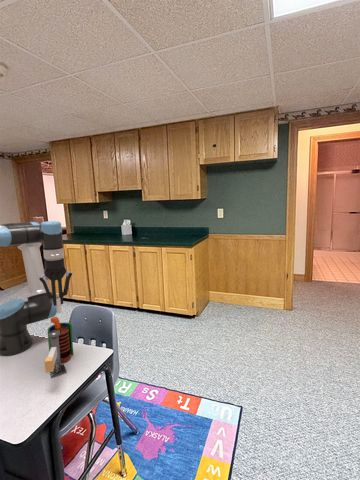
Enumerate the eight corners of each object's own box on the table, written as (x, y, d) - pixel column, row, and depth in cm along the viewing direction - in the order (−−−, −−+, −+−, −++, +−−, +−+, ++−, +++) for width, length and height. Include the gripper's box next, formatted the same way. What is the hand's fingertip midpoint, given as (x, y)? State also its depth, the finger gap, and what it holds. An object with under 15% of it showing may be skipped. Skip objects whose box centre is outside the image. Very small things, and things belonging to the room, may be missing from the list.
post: (48, 370, 113) (45, 331, 111) (63, 365, 117) (60, 327, 114) (51, 378, 109) (47, 337, 106) (66, 372, 112) (63, 333, 109)
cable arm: (58, 356, 109) (57, 345, 108) (53, 371, 99) (52, 360, 99) (51, 357, 109) (50, 346, 108) (45, 372, 99) (44, 361, 98)
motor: (62, 367, 116) (59, 324, 113) (45, 364, 118) (40, 322, 114) (76, 353, 126) (73, 314, 123) (59, 351, 127) (56, 313, 124)
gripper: (37, 262, 102) (43, 319, 106) (72, 258, 110) (76, 311, 113) (35, 259, 108) (40, 312, 112) (68, 254, 116) (72, 305, 119)
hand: (59, 311), depth 113 cm, fingers closed
